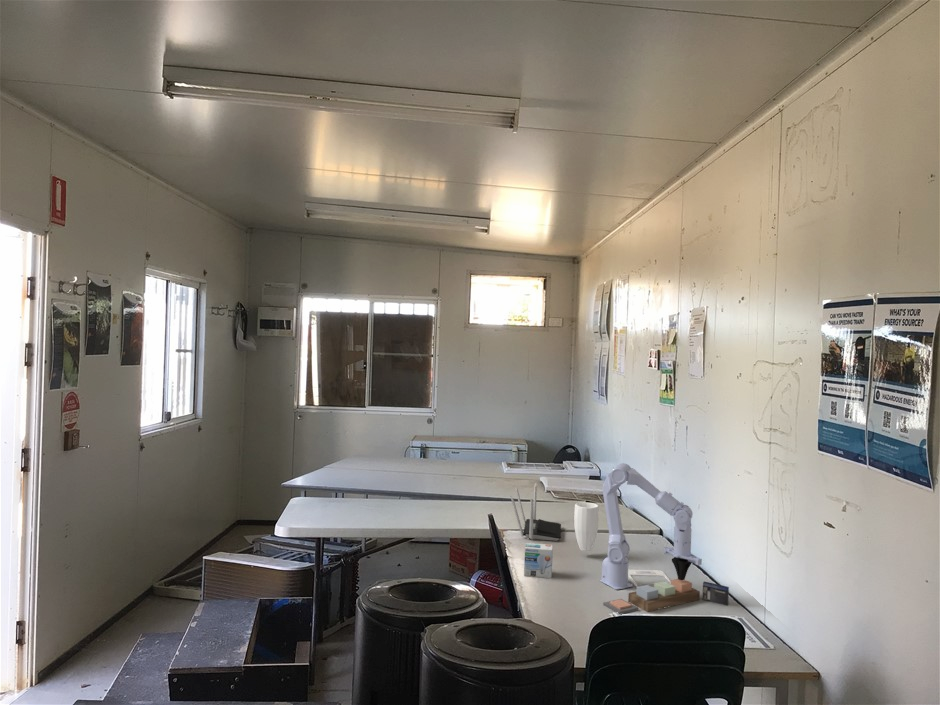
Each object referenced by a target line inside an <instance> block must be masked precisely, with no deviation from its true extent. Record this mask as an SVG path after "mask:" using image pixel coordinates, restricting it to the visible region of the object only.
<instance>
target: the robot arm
mask: <svg viewBox="0 0 940 705" xmlns="http://www.w3.org/2000/svg"><path fill="white" fill-rule="evenodd" d="M625 483H626V485H629V486H630V485H631V486H637V487H638V488H639V489H641V490H642V491H644V492H645V493H647V494H648V495H649V496H651V497H652V498H653V499H654V501H655V504H656V505H657V506H658V507H659V508H661V510H663V511H664V512H666V513H667V514H669V516H671V517H672V518H673V520H674V527H673V528H674V529H673V530H674V531H673V548H672V547H669V546H668V547H663V551H662V553H663V554H665V555H669V556H672V557H673V558H672V559H671V562H672V563H673V566H674V568H675V571H676V575H677V579H679V580H686V576H687V573H688V570H689V568H690V566H691V565H692V564H695V565H696V566H701V565H702V564H703V563H702V558H700V557H698V556H696V555H695V554H693V553H692V518H693V510H692V509H691V507H690V506H689V505H687V504H684V502H682V501H681V502H680V501H679V500H678V499H676V498H675V497H674V496H673V493H672V492H670V491H669V492H668V491H663V490H662V491H661V490H659V489H658V488H657V487H656V486H655V485H654V484H653V483H651V482H650V481H649V480H648V479H647V478H645V477H644V476H643V475H642V474H641V473H640V472H638V471H637V470H636V469H635V468H633V467H631V466H630V465H629V464H627V463H624V462H623V463H622V462H621V463H619V464H618V465H616V466H615V467H612V469H611V470H610V471H609V472H608V473H607V475H606V478H605V480H604V482H603V485H602V488H601V489H602V496H603V501H604V502H603V503H604V509H605V515H606V524H607V528H608V534H609V535H608V549H607V553H606V554H607V557H605V558H604V559H603V561H602V563H601V564H602V565H601V579H600V580H599V581H600V582H601V583H603V584H604V585H607V586H609V587H610V588H612V589H615V590H622V589H627V588H631V587H634V584H632V583H630V582H629V576H628V570H629V559H628V556H627V555H629V553H630V550H631V549H630V548H631V547H630V544H629V542H628V541H627V537H626V535H625V533H624V531H623V525H622V524H623V523H622V517H621V510H620V504H619V498H618V489H619V488H620V487H621V486H622V485H623V484H625Z"/></svg>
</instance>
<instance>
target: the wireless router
mask: <svg viewBox="0 0 940 705" xmlns="http://www.w3.org/2000/svg"><path fill="white" fill-rule="evenodd" d="M537 487H538V486H537V482H535V483H534V485H533V498H530V504H529V505H530V506H529V507H530V508H529V518H527V519H526V517H525V514H524V508H523V505H522V502H521V497H520V493H519V489H518V487H517V486H516V485H514V489H515V492H516V497H517V501H518V505H519V510H520V513H521V517H522V520H523V521H522V522H523V525H524V526H523V527H524V529H523V528H522V524H521V520H520V516H519V514H518V509H517V506H516V501H515V499H514V498H513V496H510V499H511V503H512V506H513V510H514V513H515V518H516V521H517V524H518V528H519V532H520V535H521V537H524V536H525V538H526V539H527V538H530V540H541V541H543V540H544V541H555V542H558V541H559V540H560V539H561V537H562V536H561V535H562V524H561V523H559V522H554V521H548V520H544V519H542V518H541V519H540V518H538V519H537V492H538V491H537Z"/></svg>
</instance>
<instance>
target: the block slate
mask: <svg viewBox="0 0 940 705" xmlns="http://www.w3.org/2000/svg"><path fill="white" fill-rule="evenodd" d="M653 587H654V586H651V585H650V584H646V585H640V587H637V588H636V591H637V593H636V595H638V596H640V597H642V598H643V599H645V600H651V599H655V598H658V590H657V589H655V588H653Z"/></svg>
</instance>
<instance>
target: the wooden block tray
mask: <svg viewBox="0 0 940 705" xmlns="http://www.w3.org/2000/svg"><path fill="white" fill-rule="evenodd" d="M636 593H637V590H636V591H632V592H628V601H627V602H628V603H630V604H632V605H634V606H636V607H638V609H641V610H643V611H645V612H647V613H649V612H653V610H654V611H657V610H656V609H658V608H662V609H665V608H664V607H667V608H669V607H668V606H671V607H674V606H673V605H675V606H679V605H678V604H680V605H683V603H684V604H687V602H688V603H691V602H697V601H700V599H701V598H700V596H701V595H700V594H701V592H700V590H697V589H696V588H694V587H692V590H691V591H687V592H682V593H681V592H679V591H677V590H675V594H673V595H669V596H663V595H661V594H659V593H658V598H655V599H651V600H645V599H643V598H642V597H640V596H638V595H636ZM658 610H659V609H658Z"/></svg>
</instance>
